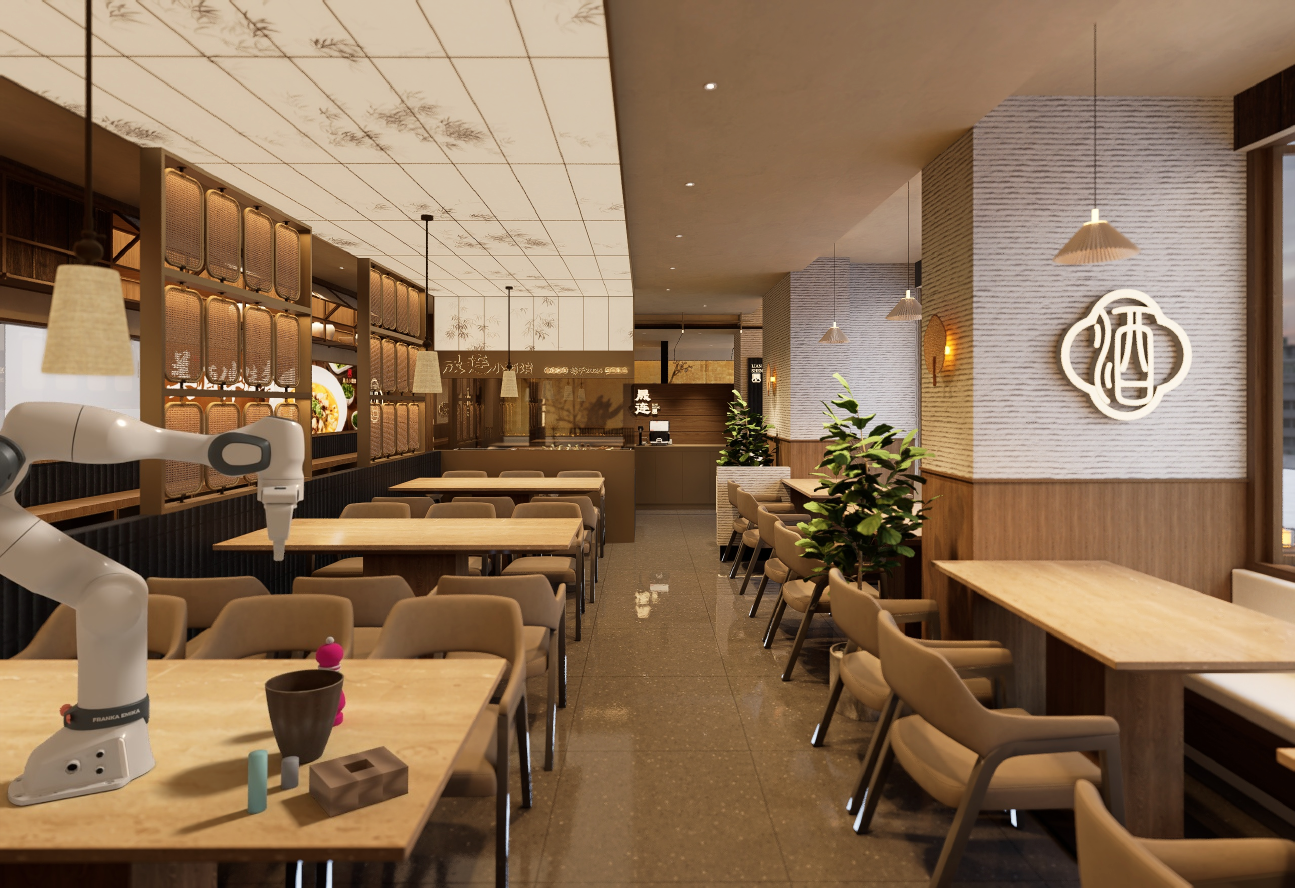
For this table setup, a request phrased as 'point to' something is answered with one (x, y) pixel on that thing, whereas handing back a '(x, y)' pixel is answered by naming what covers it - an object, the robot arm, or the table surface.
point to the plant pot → (303, 710)
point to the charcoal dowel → (289, 772)
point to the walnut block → (357, 780)
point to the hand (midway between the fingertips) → (279, 557)
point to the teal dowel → (257, 781)
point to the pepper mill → (332, 668)
